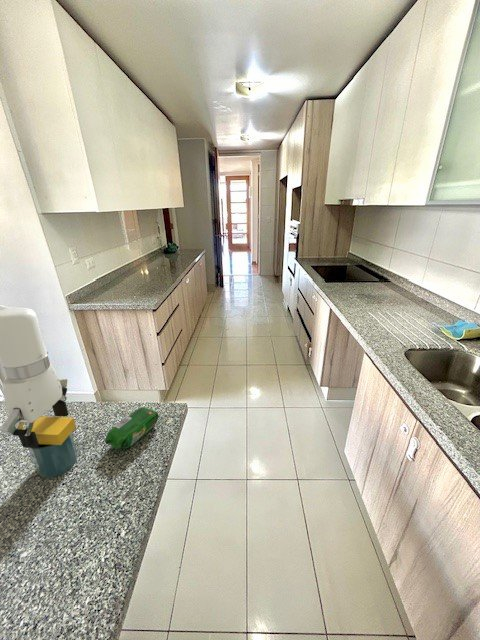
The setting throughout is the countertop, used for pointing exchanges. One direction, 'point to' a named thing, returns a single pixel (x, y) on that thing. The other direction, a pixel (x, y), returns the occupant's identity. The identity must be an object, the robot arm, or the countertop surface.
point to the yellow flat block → (53, 429)
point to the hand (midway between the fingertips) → (47, 429)
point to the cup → (54, 458)
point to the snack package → (131, 428)
